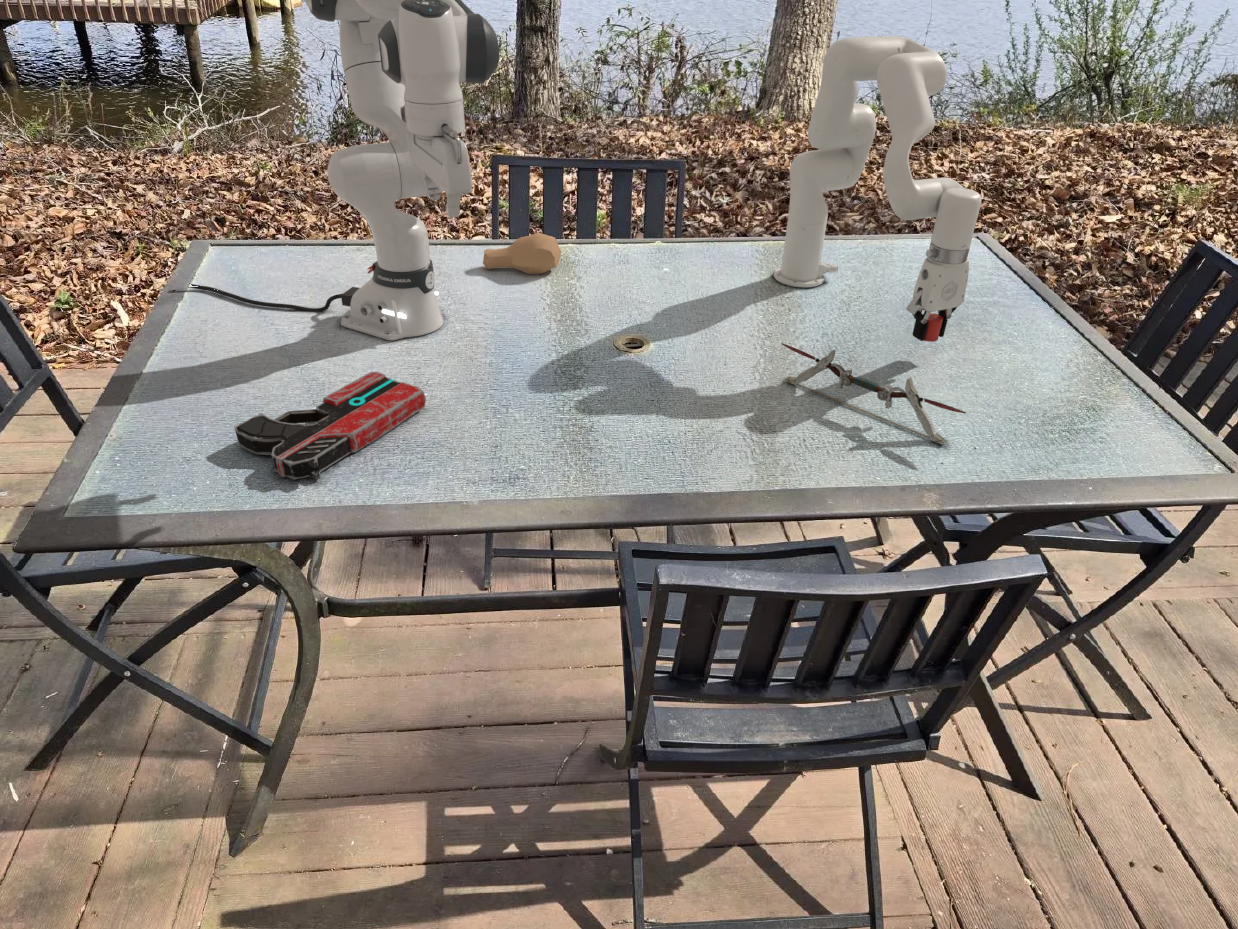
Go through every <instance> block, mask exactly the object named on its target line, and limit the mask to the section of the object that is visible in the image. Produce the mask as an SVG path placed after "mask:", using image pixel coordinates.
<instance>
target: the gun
mask: <svg viewBox="0 0 1238 929" xmlns="http://www.w3.org/2000/svg"><path fill="white" fill-rule="evenodd" d="M426 400H427V397H426V395H425V392H424V390H423V389H422V388H420V387H419V386H418V385H413V384H411V383H410V384H409V383H407V382H404V381H403V382H401V381H398V380H395V379H393V378H390V377H387V376H386V374H385V373H382V372H379V371H370V372H367V373H366V374H364V375H363V376H360V377H358V378H357V379H355V380H353V381H352V382H349V383H348V384H345V385H344V386H342V387H340V388H339V389H336V390H335V391H333V392H332V393H329V394H328V395H326V396H324V397H323V399H322V402H321V403H320V404H318V405H316V406H315V409H299V410H298V409H297V410H288V411H286V412H284V413H283V414H280V415H278V416H277V417H275V418H271V417H268V416H267V415H265V414H264V413H258V414H256V415H255V416H253V417H250V418H249V419H247V420H245V421H243V422H241V423H240V424H237V425H234V432H235V435H236V439H237V443H238V444H239V446H240V447H241V448H243V449H244V450H246V451H247V452H250V453H252V454H254V455H262V456H263V455H264V456H271V459H272V463H273V467H274V472H276V473H278V474H279V476H280V477H282V478H286V477H287V478H289V479H291V480H293V481H295V480H299V479H305V478H308V477H309V478H311V479H313V480H315V481H319V479H321V473H322V472H323V471H325V470H326V469H328V468H329V467H332V466H333V465H334V464H336V463H337V462H339V461H340V460H342V459H343V458H346V456H348V455H350V454H351V453H353V454H354V453H357V452H359V451H360V450H361V449H363V448H365V447H366V446H368V445H370V444H371V443H373V442H375V441H376V440H378V439H380V438H381V437H383V436H384V435H386V434H387V433H388V432H390V431H391V430H393V429H394V428H396V427H398V426H399V425H401V424H402V423H403V422H404V421H406V420H408V419H409V418H411V417H412V416H414V415H415V414H416V413H418V412H419V411H421V410H423V409H424V408H425V407H426Z"/></svg>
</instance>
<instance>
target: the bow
mask: <svg viewBox="0 0 1238 929" xmlns="http://www.w3.org/2000/svg"><path fill="white" fill-rule="evenodd" d="M780 345H782V346H784V347H785V348H787V349H789V350H790V351H793V352H794V353H796V354H799V355H801V356H803V357H805V358H808V359H810V360H813V361H815V363H816V364H815V365H812V366H810V367H809V368H807V369H805V370H803V371H802V372H800V373H799V374H798V375H797V376H787V377H784V381H785V382H786V383H788V384H790V385H797V386H799V387H802V388H804V389H806V390H809V391H811V392H814V393H816V394H819V395H821V396H824V397H826V398H828V399H831V400H834V401H836V402H839V403H840V404H844V405H846V406H849V407H851V408H853V409H856V410H859V411H860V412H862V413H866V414H868V415H871V416H874V417H876V418H879V419H881V420H884V421H886V422H888V423H891V424H893V425H896V426H898V427H900V428H904V429H906V430H907V431H911V432H914V433H915V434H919V435H921V436H923V437H925V438H928V439H930V440H931V441H933V442H934V443H937V444H940V445H945V443H947V441H948V440H947V439H946V438H945V437H944V436H942V435H941V434H939V433H938V432H936V428H935V426H934V423H933V421H932V419H931V417H930V416H929V414H928V412H927V411H926V409H925V408H924V406H923V404H922V402H923V401H924V402H925V403H927V404H929V405H932V406H935V407H937V408H940V409H944V410H947V411H951V412H955V413H960V414H967V412H966V411H964V410H961V409H958V408H956V407H953V406H951V405H948V404H945V403H942V402H939V401H935V400H932V399H929V398H923V397H920V395H919V392H918V390H917V388H916V387H915V385H914V381H913V379H912V377H908V378H907V379H906V382H905V387H904V389H903V388H902V387H900V386H895V387H893V386H892V385H891V384H890V383H887V384H886V385H885V386H883V387H882V386H880V385H879V384H878V383H877V382H875V381H873V380H870V379H868V378H864V377H862V376H853V375H852V374H853V370H852V369H846V370H845V368H844V367H843V366H842V365H841V364H838V363H835V362H833V361H834V360H835V356H836V349H832V350H831V351H830V352H829V353H828V354H827V355H826V356H823V357H822V358H821V359H820V358H818V357H815V355H814V356H813V355H812V354H810V353H808V352H805V351H803V350H801V349H798V348H796V347H793V346H791V345H788V344H786V343H783V342H781V343H780ZM832 362H833V363H832ZM827 369H829V370H830V371H831V372H832V373H833V374H834V375H835V376H837V378H839V380H838V382H837V384H836V390H839V391H840V390H841V389H843V388H844V387H846V388H849V387H850V386H852V384H853V385H855V386H858V387H859V388H863V389H865V390H868V391H870V392H873V393H877V395H876V396H877V399H879V400H880V401H884V402H885V403H884V405H885V406H884V408H885V409H887V410H889V409H891V408H892V407H893V405H892V404H893V400H892V399H902V398H903V399H904V398H905V399H906V400H907V401H908V403H909V404H910V406H911V407H912V409H913V411H914V412H915V415H916V417H917V419H918V421H919V423H920V424H921V427H922V429H923V430H924V433H925V434H926V435H925V434H924V433H921V432H918V431H916V430H913V429H911V428H908V427H905V426H904V425H901V424H898V423H896V422H893V421H890V420H889V419H887V418H884V417H881V416H879V415H876V414H873V413H871V412H869V411H866V410H863V409H861V408H858V407H856V406H854V405H851V404H849V403H846V402H844V401H842V400H839V399H836V398H834V397H831V396H830V395H826V394H824V393H822V392H819V391H817V390H814V389H812V388H809V387H806V386H804V385H801V384H802V383H803V382H807V381H808V380H810V379H811V378H812V377H813V376H815V375H817V374H819V373H821V372H823V371H825V370H827Z"/></svg>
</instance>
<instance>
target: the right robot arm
mask: <svg viewBox="0 0 1238 929" xmlns="http://www.w3.org/2000/svg"><path fill="white" fill-rule="evenodd" d="M821 70H822V71H821V72H822V73H821V81H820V85H819V86H820V87H819V90H818V93H817V95H816V99H815V103H814V106H813V110H812V114H811V117H810V121H809V124H808V130H807V140H808V143H809V144H810V146H812V147H813V148H815V149H814V150H808V151H804V152H801V153H800V154H798V155H797V156H795V157H794V158H793V160H792V161H791V164H790V167H789V204H788V214H787V222H786V230H785V236H784V245H783V253H782V260H781V266H780V267H778V268H776V269H775V270H774V273H773V278H774V279H775V280H776V281H777V282H779V283H780V284H783V285H785V286H789V287H793V288H813V287H817V286H820V285H822V284H823V283H824V281H825V275H826V273H831V274H834V273H835V274H836V273H838V272H839V265H838V264H831V263H830V262H822V257H823V256H822V255H823V250H824V244H825V236H826V230H827V224H828V216H829V208H828V204H827V202H826V201H827V200H825V197H824V193H826V192H832V191H839V190H845V189H846V190H847V189H850V188H852V187H853V186H855V185H856V184H857V183H858V181H859V180H860V178H861V175H862V173H863V171H864V168H865V165H866V162H867V159H868V156H869V153H870V150H871V147H872V145H873V142H874V139H875V135H876V130H877V120H876V119H877V118H876V115H875V112H874V111H873V109H872V107H870V106H869V105H868V104H866V103H860V102H857V99H858V96H859V95H858V94H859V83H858V82H867V81H876V82H877V88H878V91H879V95H880V97H881V98H880V99H881V101H882V105H883V108H884V112H885V116H886V120H887V123H888V127H889V131H890V133H891V142H890V145H889V147H888V149H887V152H886V155H885V158H884V163H883V170H882V171H883V172H882V179H883V185H884V189H885V192H886V196H887V200H888V203H889V205H890V208H891V210H892V211H893V213H894V214H895V215H896V217H898V218H899V219H901V220H904V221H914V220H915V221H916V220H923V219H929V218H935V222H934V226H933V230H932V235H931V239H930V242H929V243H930V244H929V248H928V250H926V252H925V256H926V258H924V261H923V263H922V265H921V267H920V270H919V273H918V275H917V279H916V282H915V286H914V290H913V295H912V300H911V301H910V302H909V303H908V305H907V306H906V307H905V308H906V311H908V312H909V313H910V314H911V315H912V316H913V319H915V322H914V326H913V331H912V336H913V337H914V338H916V339H917V340H919V341H921V342H925V341H924V340H925V337H926V332H927V328H928V323H927V320H928V317H929V315H930V313H933V312H937V314H938V315H940V316H942V317H943V321H942V325H941V329H940V333H939V337H938V338H943V337H944V336H945V332H946V328H947V324H948V321H949V319H951V318H952V314H953V313H954V312H955V311H956V310H957V308H959V307H960V306H961V305H963V303H964V302H965V295H966V292H967V291H966V290H967V286H968V281H969V274H970V273H969V272H970V260H969V259H968V257H969V253H970V250H971V249H970V248H971V244H972V241H973V237H974V233H975V229H976V225H977V221H978V217H979V213H980V210H981V206H982V199H983V198H982V196H981V194H980V193H979V192H977V191H976V190H974V189H973V190H972V189H969V188H965V187H964V186H963V185H961V184H960V183H959V182H958V181H956V180H955V179H954V178H951V177H946V176H945V177H935V178H934V177H933V178H924V179H922V178H921V179H915V180H914V179H913V178H914V177H913V175H912V172H911V171H912V170H911V167H910V153H911V149H912V147H913V145H914V144H916V143H917V142H919V141H921V140H923V139H924V138H925V137H926V136H928V135H929V134H931V132H932V131H933V130H934V129H935V127H936V119H935V116H934V112H933V109H932V105H931V103H930V98H929V97H931V96H935V95H938V94H939V93H940V92H941V91H942V90H943V89H944V87H945V85H946V83H947V76H948V72H947V71H948V69H947V66H946V62H945V61H944V59H943V58H942V56H941V55H940V54H939V53H938V52H936V51H935V50H933V49H931V48H929V47H928V46H925V45H923V44H921V43H919V42H917V41H915V40H913V39H911V38H908V37H906V36H901V35H886V36H859V37H858V36H857V37H845V38H841V39H838V40H836V41H834V42H833V43H832V44H831V45H830V46H829V47H828V49H827V51H826V53H825V55H824V58H823V63H822V69H821ZM856 102H857V103H856ZM923 311H924V312H923Z"/></svg>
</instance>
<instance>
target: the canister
mask: <svg viewBox="0 0 1238 929" xmlns="http://www.w3.org/2000/svg"><path fill="white" fill-rule="evenodd" d="M942 321H943V317H942V316H940V315H938V313H933V312H931V313H930V315H929V317H928V320H927V323H928V328H927V332H926V337H925V340H924V341H923V342H927V343H928V342H930V343H932V342H933V343H934V342H937V341H938V340H939V338H940V337H939V333H940V329H941V325H942Z"/></svg>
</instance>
